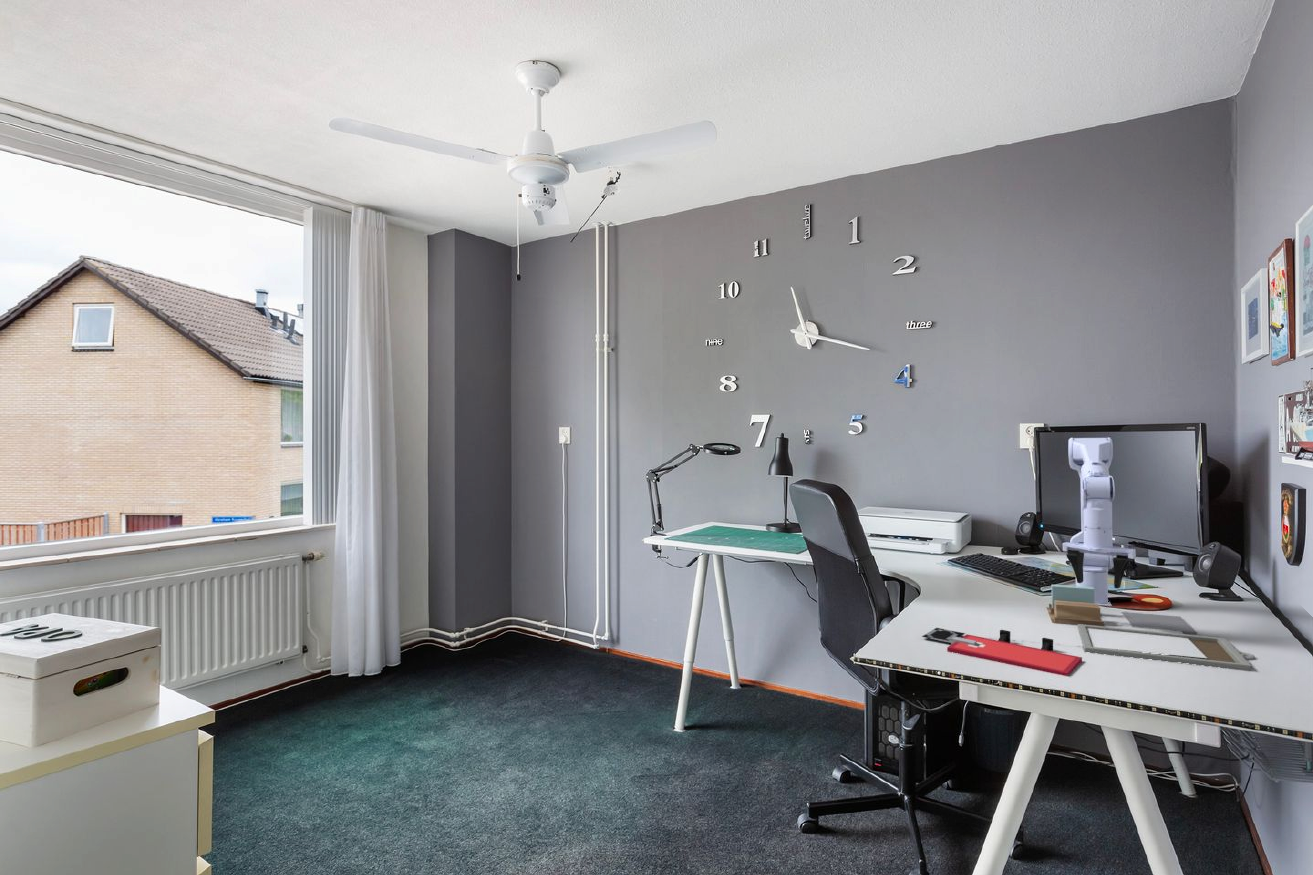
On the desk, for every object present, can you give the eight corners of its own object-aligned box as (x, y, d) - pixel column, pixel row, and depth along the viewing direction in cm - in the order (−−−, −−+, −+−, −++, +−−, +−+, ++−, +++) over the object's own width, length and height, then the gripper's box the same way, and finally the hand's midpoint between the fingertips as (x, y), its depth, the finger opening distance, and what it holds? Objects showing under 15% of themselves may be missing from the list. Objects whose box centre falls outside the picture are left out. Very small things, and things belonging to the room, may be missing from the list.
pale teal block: (1051, 609, 175) (1051, 584, 175) (1093, 613, 171) (1092, 587, 171) (1052, 611, 173) (1052, 586, 173) (1094, 615, 170) (1094, 589, 169)
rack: (1046, 609, 178) (1046, 602, 178) (1096, 613, 173) (1096, 606, 173) (1052, 624, 164) (1052, 617, 164) (1107, 629, 159) (1107, 622, 159)
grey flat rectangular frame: (1077, 623, 161) (1241, 639, 147) (1077, 630, 161) (1241, 647, 147) (1084, 647, 144) (1270, 667, 130) (1084, 654, 144) (1270, 676, 130)
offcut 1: (1054, 616, 169) (1054, 600, 169) (1097, 620, 165) (1097, 603, 165) (1055, 618, 167) (1055, 602, 167) (1098, 622, 164) (1098, 605, 164)
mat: (1121, 613, 172) (1121, 611, 172) (1180, 618, 167) (1180, 616, 167) (1132, 628, 160) (1132, 626, 160) (1196, 634, 154) (1196, 632, 154)
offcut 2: (1055, 619, 167) (1055, 602, 167) (1099, 622, 163) (1098, 605, 163) (1056, 621, 165) (1056, 604, 165) (1100, 624, 161) (1100, 608, 161)
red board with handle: (939, 629, 162) (912, 646, 151) (939, 617, 162) (912, 633, 151) (1086, 659, 141) (1067, 680, 131) (1086, 645, 141) (1067, 666, 131)
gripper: (1057, 526, 165) (1058, 582, 165) (1129, 532, 154) (1129, 592, 154) (1068, 523, 169) (1068, 578, 170) (1138, 528, 159) (1138, 587, 159)
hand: (1098, 584), depth 162 cm, fingers open, 7 cm apart
